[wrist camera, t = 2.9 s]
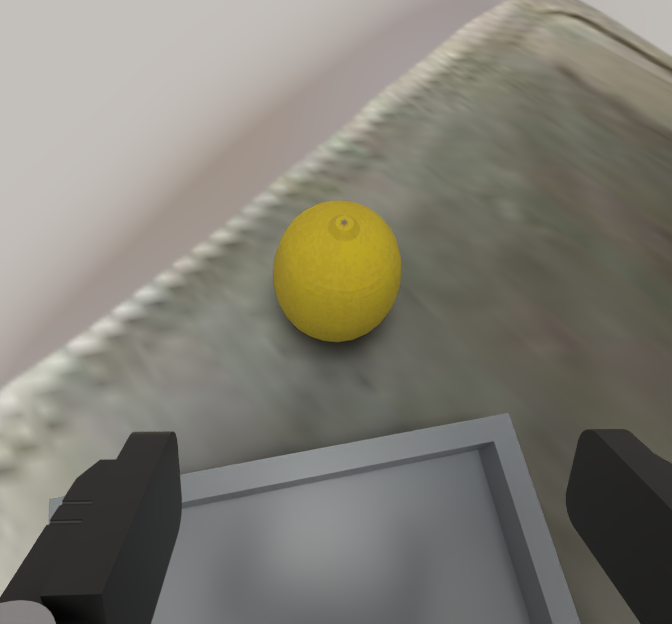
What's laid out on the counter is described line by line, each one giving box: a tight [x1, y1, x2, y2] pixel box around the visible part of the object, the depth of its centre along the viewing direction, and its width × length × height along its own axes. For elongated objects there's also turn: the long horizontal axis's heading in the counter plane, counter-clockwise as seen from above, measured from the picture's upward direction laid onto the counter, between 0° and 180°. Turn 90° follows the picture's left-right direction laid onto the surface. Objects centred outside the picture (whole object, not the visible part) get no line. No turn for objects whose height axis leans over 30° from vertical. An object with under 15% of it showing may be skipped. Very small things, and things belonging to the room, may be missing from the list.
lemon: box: [273, 201, 401, 342], centre depth 22 cm, size 6×6×8 cm
